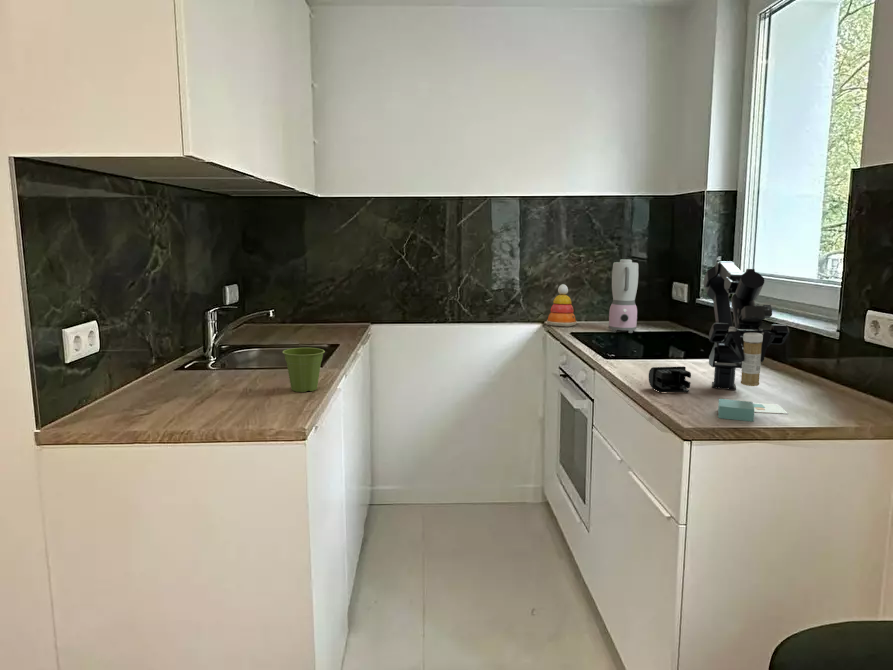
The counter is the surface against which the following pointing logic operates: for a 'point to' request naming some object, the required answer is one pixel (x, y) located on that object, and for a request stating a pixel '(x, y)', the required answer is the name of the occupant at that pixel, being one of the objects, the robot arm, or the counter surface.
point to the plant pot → (303, 367)
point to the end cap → (669, 379)
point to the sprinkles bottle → (751, 359)
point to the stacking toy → (562, 310)
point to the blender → (624, 296)
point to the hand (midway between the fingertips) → (752, 360)
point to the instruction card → (768, 408)
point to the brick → (736, 410)
